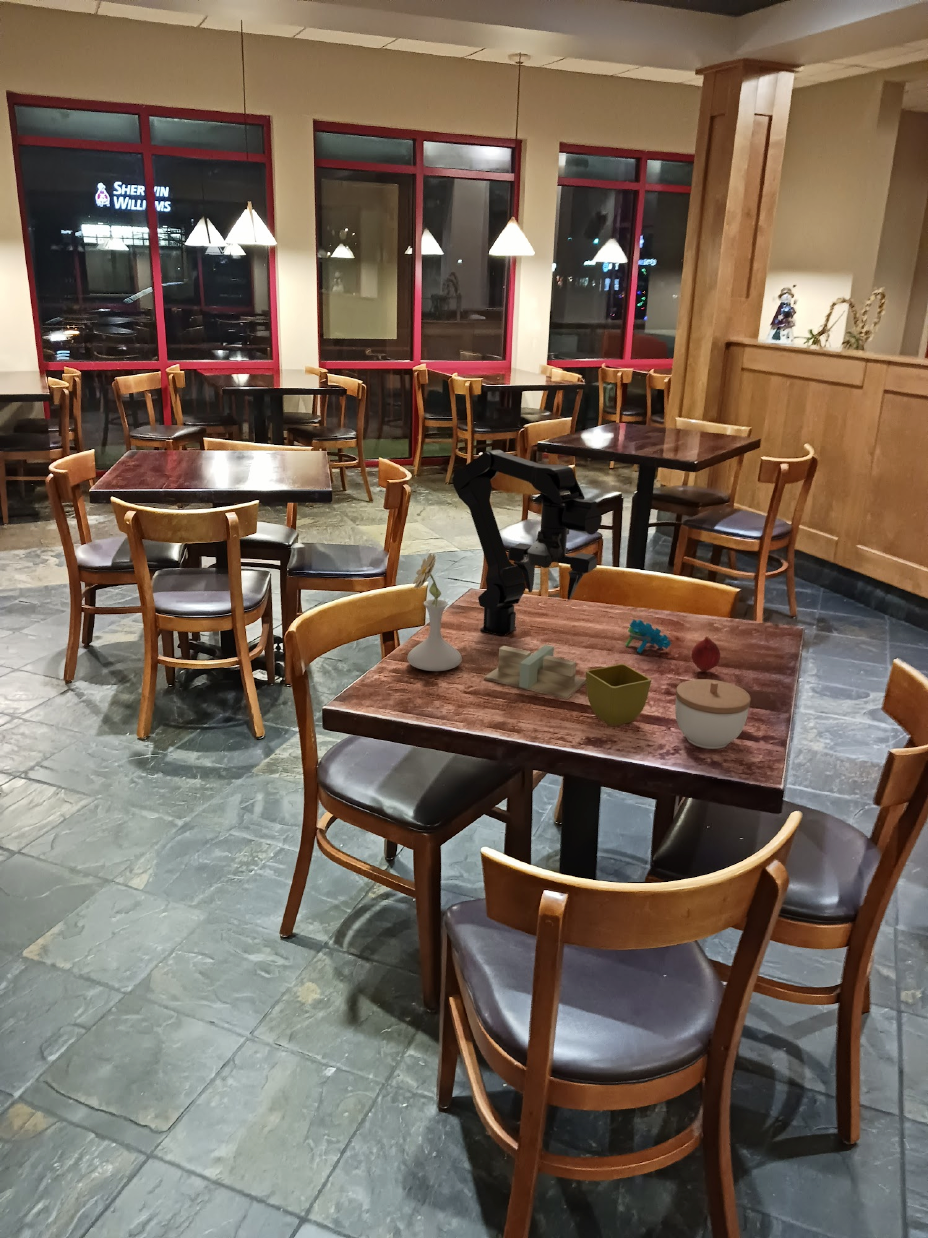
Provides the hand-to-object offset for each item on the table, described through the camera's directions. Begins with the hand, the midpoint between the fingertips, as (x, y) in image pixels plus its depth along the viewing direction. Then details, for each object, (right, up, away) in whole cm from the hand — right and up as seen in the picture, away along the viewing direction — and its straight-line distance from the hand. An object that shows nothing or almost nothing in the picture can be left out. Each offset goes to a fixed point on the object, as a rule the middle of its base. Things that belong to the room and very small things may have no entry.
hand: (549, 595), depth 200 cm
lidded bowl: (+24, -27, -38) cm, 52 cm away
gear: (+22, -12, +5) cm, 26 cm away
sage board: (-4, -17, -15) cm, 23 cm away
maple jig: (-4, -18, -15) cm, 23 cm away
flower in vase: (-25, -15, -9) cm, 31 cm away
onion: (+32, -16, -7) cm, 36 cm away
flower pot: (+9, -24, -31) cm, 40 cm away
